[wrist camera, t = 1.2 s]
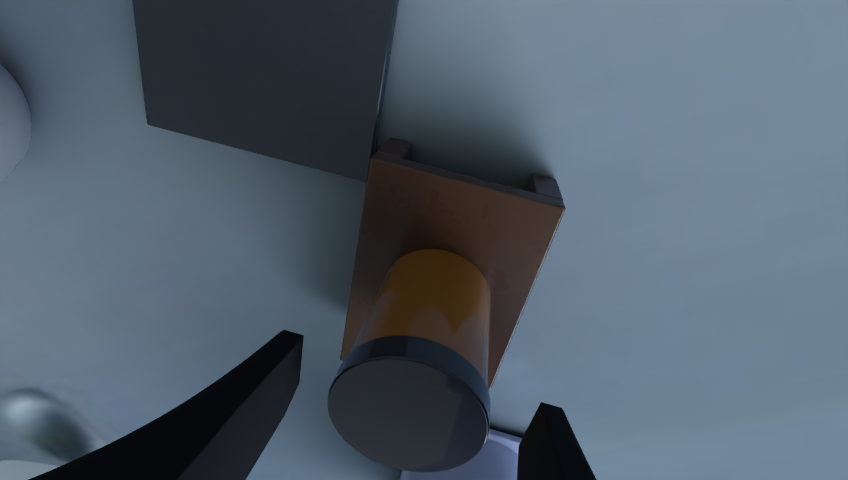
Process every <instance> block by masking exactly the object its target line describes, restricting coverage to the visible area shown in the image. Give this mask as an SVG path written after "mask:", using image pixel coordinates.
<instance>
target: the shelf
mask: <svg viewBox="0 0 848 480" xmlns="http://www.w3.org/2000/svg"><path fill="white" fill-rule="evenodd" d="M412 146H413V145H412V143H411V142H407V141H403V140H399V139H395V138H390V139H389V140H388V141H387V142H386V143H385V144H384V145H383V146H382V147H381V148H380V149H379V150H378V151H377V153H375V154H374V155H373V156H372V157H371V159H370V165H369V172H368V178H367V185H366V191H365V198H364V205H363V211H362V218H361V225H360V231H359V238H358V245H357V251H356V258H355V265H354V271H353V278H352V284H351V291H350V298H349V304H348V311H347V318H346V324H345V331H344V338H343V344H342V351H341V358H340V359H341V360H342V361H343V360H344V359H345V357H346V356H347V355H348V354H349V353H350V352H351V349H352V347H353V345H354V343H355V341H356V339H357V336H358V334H359V332H360V330H361V328H362V325H363V323H364V321H365V319H366V317H367V314H368V312H369V310H370V308H371V306H372V303H373V301H374V299H375V297H376V295H377V292H378V290H379V288H380V286H381V284H382V282H383V279H384V277H385V275H386V273H387V271H388V270H389V268H390V267H391V266H392V264H393V263H394V262H395V261H397V260H398V259H399V258H401V257H402V256H404V255H406V254H408V253H411V252H414V251H417V250H423V249H440V250H445V251H450V252H453V253H456V254H458V255H460V256H462V257H464V258H465V259H467V260H469V261H470V262H471V263H472V264H474V265H475V266H476V267H477V268H478V269H479V270H480V272H481V273H482V274H483V276H484V277H485V279H486V281H487V283H488V286H489V289H490V294H491V308H490V334H489V360H488V386H487V388H488V391H489V392H490V389H491V387H492V384H493V382H494V380H495V377H496V375H497V372H498V370H499V368H500V365H501V363H502V360H503V358H504V356H505V353H506V351H507V348H508V346H509V344H510V341H511V339H512V336H513V334H514V332H515V329H516V327H517V324H518V322H519V319H520V317H521V315H522V312H523V310H524V307H525V305H526V303H527V300H528V298H529V295H530V293H531V291H532V288H533V286H534V283H535V281H536V279H537V276H538V274H539V271H540V269H541V267H542V264H543V262H544V259H545V257H546V255H547V252H548V250H549V247H550V245H551V243H552V240H553V238H554V235H555V233H556V231H557V228H558V226H559V223H560V221H561V219H562V216H563V214H564V211H565V206H564V203H563V199H562V196H561V193H560V190H559V187H558V184H557V181H556V179H552V178H548V177H545V176H541V175H537V174H532V176H531V179H530V182H529V184H528V187H527V190H526V191H525V190H522V189H518V188H514V187H510V186H506V185H502V184H498V183H494V182H491V181H487V180H483V179H479V178H475V177H471V176H467V175H463V174H460V173H456V172H452V171H448V170H444V169H440V168H436V167H432V166H429V165H425V164H421V163H417V162H413V161H410V156H411V151H412Z"/></svg>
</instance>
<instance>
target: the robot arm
mask: <svg viewBox="0 0 848 480" xmlns="http://www.w3.org/2000/svg"><path fill="white" fill-rule="evenodd" d="M303 337H304V335H300V334H297V333H293V332H290V331H286V330H283V331H281V332H280V333H278V334H277V335H276V336H275V337H274V338H272V339H271V340H270V341H269V342H267V343H266V344H265V345H264V346H262V347H261V348H260V349H259V350H257V351H256V352H255V353H254V354H252V355H251V356H250V357H248V358H247V359H246V360H245V361H243V362H242V363H241V364H239V365H238V366H236V367H235V368H234V369H232V370H231V371H230V372H228V373H227V374H226V375H224V376H223V377H221V378H220V379H219V380H217V381H216V382H214V383H213V384H211V385H210V386H208V387H207V388H205V389H204V390H202V391H201V392H199V393H198V394H196V395H195V396H193V397H192V398H190V399H189V400H187V401H185V402H184V403H182V404H181V405H179V406H177V407H176V408H174V409H172V410H171V411H169V412H167V413H166V414H164V415H162V416H161V417H159V418H157V419H155V420H154V421H152V422H150V423H148V424H146V425H144V426H143V427H141V428H139V429H137V430H135V431H133V432H131V433H129V434H127V435H126V436H124V437H122V438H120V439H118V440H116V441H114V442H112V443H110V444H108V445H106V446H104V447H102V448H100V449H97V450H95V451H93V452H91V453H89V454H86V455H84V456H82V457H80V458H78V459H75V460H73V461H71V462H69V463H67V464H64V465H62V466H60V467H58V468H56V469H53V470H51V471H49V472H46V473H44V474H42V475H39V476H36V477H34V478H31V479H29V480H246V478H247V476H248V475H249V473H250V471H251V470H252V468H253V466H254V465H255V463H256V461H257V460H258V458H259V456H260V455H261V453H262V452H263V450H264V448H265V447H266V445H267V443H268V442H269V440H270V438H271V437H272V435H273V433H274V432H275V430H276V428H277V427H278V425H279V423H280V422H281V420H282V418H283V417H284V415H285V413H286V411H287V409H288V407H289V404H290V402H291V400H292V398H293V396H294V394H295V391H296V389H297V387H298V385H299V382H300V370H301V359H302V348H303ZM400 480H596V478H595V476H594V474H593V472H592V470H591V468H590V466H589V464H588V462H587V460H586V458H585V456H584V454H583V452H582V449H581V447H580V445H579V443H578V441H577V439H576V437H575V435H574V433H573V430H572V428H571V426H570V424H569V422H568V419H567V417H566V415H565V413H564V411H563V409H562V408H560V407H556V406H552V405H549V404H545V403H542V402H541V404H540V405H539V407H538V409H537V411H536V413H535V415H534V417H533V419H532V421H531V423H530V425H529V427H528V429H527V431H526V432H525V434H524V436H523V438H520V437H517V436H513V435H510V434H506V433H503V432H499V431H496V430H492V429H489V435H488V438H487V441H486V443H485V445H484V446H483V448H482V450H481V451H480V452H479V453H478V454H477V455H476V456H475V457H474V458H473V459H471V460H470V461H468V462H467V463H465V464H463V465H461V466H459V467H456V468H453V469H450V470H445V471H440V472H422V473H421V472H410V471H404V470H402V473H401V477H400Z"/></svg>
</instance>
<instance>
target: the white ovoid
mask: <svg viewBox="0 0 848 480" xmlns="http://www.w3.org/2000/svg"><path fill="white" fill-rule="evenodd" d="M30 137H31V115H30V109H29V105H28V103H27V100H26V98H25V96H24V94H23V91H22V89H21V88H20V86H19V85H18V84H17V82H16V81H15V79H14V78H13V76H12V75H11V74H10V73H9V72H8V71H7V70H6V69H5V68H4V67H3V66H2V65H1V64H0V182H1V181H3V180H5V179H6V178H7V177H8V175H9V174H10V173H11V172H12V171H13V169H14V168H15V167H16V166H17V164H18V163H19V162H20V161H21V159H22V158H23V157H24V155H25V154H26V153H27V151H28V149H29V143H30Z"/></svg>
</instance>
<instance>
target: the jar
mask: <svg viewBox="0 0 848 480" xmlns="http://www.w3.org/2000/svg"><path fill="white" fill-rule="evenodd" d="M490 308H491V294H490V289H489V286H488V283H487V281H486V279H485V277H484V276H483V274H482V273H481V272H480V270H479V269H478V268H477V267H476V266H475V265H474V264H472V263H471V262H470V261H469V260H467V259H465V258H464V257H462V256H460V255H458V254H456V253H453V252H450V251H445V250H440V249H423V250H417V251H414V252H411V253H408V254H406V255H404V256H402V257H401V258H399V259H398V260H397V261H395V262H394V263H393V264H392V266H391V267H390V268H389V270H388V271H387V273H386V275H385V277H384V279H383V282H382V284H381V286H380V288H379V290H378V292H377V295H376V297H375V299H374V301H373V303H372V306H371V308H370V310H369V312H368V314H367V317H366V319H365V321H364V323H363V325H362V328H361V330H360V332H359V334H358V336H357V339H356V341H355V343H354V345H353V347H352V349H351V352H350V353H349V354H348V355H347V356H346V357H345V359H344V360H343V362H342V363H341V365H340V368H339V370H338V372H337V374H336V376H335V378H334V380H333V382H332V385H331V387H330V389H329V393H328V411H329V415H330V418H331V420H332V422H333V424H334V426H335V428H336V429H337V431H338V433H339V434H340V435H341V436H342V437H343V439H344V440H345V441H346V442H347V443H348V444H350V445H351V446H352V447H353V448H354V449H356V450H357V451H358V452H360V453H361V454H363V455H364V456H366V457H368V458H370V459H372V460H374V461H376V462H378V463H380V464H383V465H386V466H389V467H392V468H395V469H399V470H404V471H410V472H421V473H422V472H440V471H445V470H450V469H453V468H456V467H459V466H461V465H463V464H465V463H467V462H468V461H470V460H471V459H473V458H474V457H475V456H476V455H477V454H478V453H479V452H480V451H481V450H482V448H483V446H484V445H485V443H486V441H487V438H488V435H489V428H490V396H489V391H488V388H487V386H488V360H489V334H490Z"/></svg>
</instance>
